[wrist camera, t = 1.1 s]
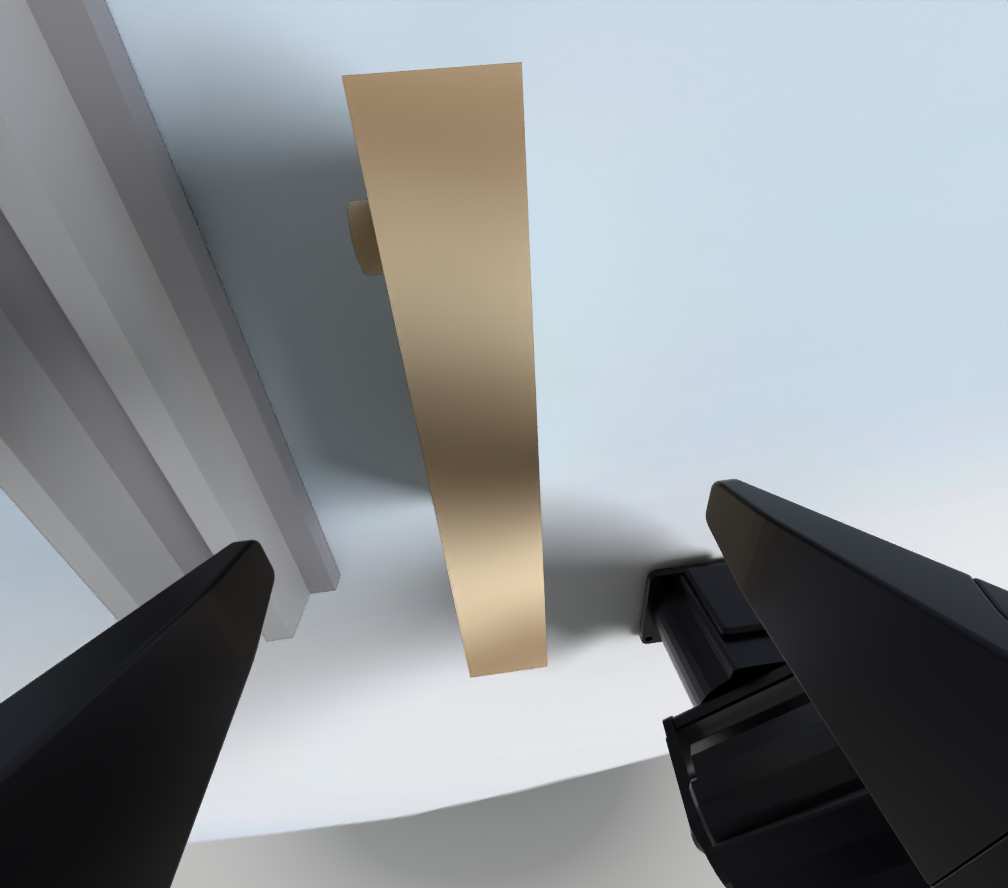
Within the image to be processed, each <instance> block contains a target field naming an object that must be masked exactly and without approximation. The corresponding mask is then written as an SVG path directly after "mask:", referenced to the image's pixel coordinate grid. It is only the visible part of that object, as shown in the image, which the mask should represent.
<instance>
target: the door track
mask: <svg viewBox="0 0 1008 888" xmlns="http://www.w3.org/2000/svg"><path fill="white" fill-rule="evenodd" d="M0 487H1V488H2V490H3V491H4V492H5V493H6V494H7V495H8V496H9V498H10V499H11V500H12V501H13V502H14V503H15V504H16V505H17V507H18V508H19V509H20V510H21V511H22V512H23V513H24V515H25V516H26V517H27V518H28V519H29V520H30V521H31V522H32V524H33V525H34V526H35V527H36V528H37V529H38V530H39V532H40V533H41V534H42V535H43V536H44V537H45V538H46V539H47V541H48V542H49V543H50V544H51V545H52V546H53V547H54V549H55V550H56V551H57V552H58V553H59V554H60V555H61V556H62V558H63V559H64V560H65V561H66V562H67V563H68V564H69V566H70V567H71V568H72V569H73V570H74V571H75V572H76V573H77V575H78V576H79V577H80V578H81V579H82V580H83V581H84V583H85V584H86V585H87V586H88V587H89V588H90V589H91V590H92V592H93V593H94V594H95V595H96V596H97V597H98V598H99V600H100V601H101V602H102V603H103V604H104V605H105V606H106V607H107V609H108V610H109V611H110V612H111V613H112V614H113V615H114V617H115V618H116V619H117V620H118V621H120V620H121V619H123V618H124V617H125V616H127V615H128V614H130V613H131V612H133V611H134V610H135V609H137V608H138V607H140V606H141V605H143V604H144V603H146V602H147V601H148V600H150V599H151V598H153V597H154V596H156V595H157V594H159V593H160V592H161V591H163V590H164V589H166V588H167V587H169V586H170V585H171V584H173V583H174V582H176V581H177V580H179V579H180V578H182V577H183V576H184V575H186V574H187V573H189V572H190V571H192V570H193V569H194V568H196V567H197V566H199V565H200V564H202V563H203V562H205V561H206V560H207V559H209V558H210V557H212V556H213V555H215V554H216V553H218V552H219V551H220V550H222V549H223V548H225V547H226V546H228V545H229V544H231V543H233V542H237V541H244V540H257V541H258V542H259V543H260V544H261V545H262V547H263V549H264V551H265V553H266V555H267V557H268V559H269V561H270V563H271V565H272V566H273V569H274V573H275V581H274V585H273V589H272V593H271V597H270V601H269V605H268V609H267V613H266V617H265V620H264V624H263V628H262V632H261V633H262V635H263V636H264V638H265V639H266V641H274V640H281V639H288V638H293V637H294V634H295V632H296V629H297V627H298V624H299V621H300V619H301V616H302V614H303V611H304V609H305V606H306V603H307V601H308V598H309V596H310V594H312V593H319V592H327V591H334V590H336V588H337V585H338V582H339V579H340V573H339V570H338V568H337V565H336V563H335V561H334V558H333V556H332V553H331V551H330V548H329V546H328V543H327V541H326V538H325V536H324V534H323V531H322V529H321V526H320V524H319V521H318V519H317V516H316V514H315V512H314V509H313V507H312V504H311V502H310V499H309V497H308V494H307V492H306V490H305V487H304V485H303V482H302V480H301V477H300V475H299V472H298V470H297V468H296V465H295V463H294V460H293V458H292V455H291V453H290V450H289V448H288V446H287V443H286V441H285V438H284V436H283V433H282V431H281V428H280V426H279V424H278V421H277V419H276V416H275V414H274V411H273V409H272V406H271V404H270V402H269V399H268V397H267V394H266V392H265V389H264V387H263V384H262V382H261V380H260V377H259V375H258V372H257V370H256V367H255V365H254V362H253V360H252V358H251V355H250V353H249V350H248V348H247V345H246V343H245V340H244V338H243V335H242V333H241V331H240V328H239V326H238V323H237V321H236V318H235V316H234V313H233V311H232V309H231V306H230V304H229V301H228V299H227V296H226V294H225V291H224V289H223V287H222V284H221V282H220V279H219V277H218V274H217V272H216V269H215V267H214V265H213V262H212V260H211V257H210V255H209V252H208V250H207V247H206V245H205V243H204V240H203V238H202V235H201V233H200V230H199V228H198V225H197V223H196V221H195V218H194V216H193V213H192V211H191V208H190V206H189V203H188V201H187V199H186V196H185V194H184V191H183V189H182V186H181V184H180V181H179V179H178V177H177V174H176V172H175V169H174V167H173V164H172V162H171V159H170V157H169V155H168V152H167V150H166V147H165V145H164V142H163V140H162V137H161V135H160V133H159V130H158V128H157V125H156V123H155V120H154V118H153V115H152V113H151V110H150V108H149V106H148V103H147V101H146V98H145V96H144V93H143V91H142V88H141V86H140V84H139V81H138V79H137V76H136V74H135V71H134V69H133V66H132V64H131V62H130V59H129V57H128V54H127V52H126V49H125V47H124V44H123V42H122V40H121V37H120V35H119V32H118V30H117V27H116V25H115V22H114V20H113V18H112V15H111V13H110V10H109V8H108V5H107V3H106V0H0Z"/></svg>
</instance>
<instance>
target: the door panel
mask: <svg viewBox="0 0 1008 888" xmlns="http://www.w3.org/2000/svg"><path fill="white" fill-rule="evenodd" d="M342 80H343V84H344V89H345V94H346V98H347V103H348V108H349V112H350V117H351V122H352V126H353V131H354V136H355V140H356V145H357V150H358V154H359V159H360V164H361V168H362V173H363V178H364V182H365V187H366V192H367V196H368V200H358V201H350V202H349V204H348V221H349V228H350V233H351V238H352V243H353V246H354V250H355V253H356V257H357V259H358V262H359V265H360V267H361V269H362V271H363V272H364V274H365V275H366V276H372V275H382V274H384V276H385V281H386V285H387V290H388V295H389V299H390V304H391V309H392V313H393V318H394V323H395V327H396V332H397V337H398V341H399V346H400V351H401V355H402V360H403V365H404V369H405V374H406V379H407V383H408V388H409V393H410V397H411V402H412V407H413V411H414V416H415V421H416V425H417V430H418V435H419V439H420V444H421V449H422V453H423V458H424V463H425V467H426V472H427V477H428V481H429V486H430V491H431V496H432V500H433V505H434V510H435V514H436V519H437V524H438V528H439V533H440V538H441V542H442V547H443V552H444V556H445V561H446V566H447V570H448V575H449V580H450V584H451V589H452V594H453V598H454V603H455V608H456V612H457V617H458V622H459V626H460V631H461V636H462V640H463V645H464V650H465V654H466V659H467V664H468V668H469V673H470V678H471V677H478V676H485V675H492V674H499V673H506V672H513V671H520V670H526V669H533V668H540V667H547V644H546V620H545V597H544V573H543V550H542V526H541V503H540V480H539V456H538V433H537V409H536V386H535V363H534V339H533V316H532V292H531V269H530V245H529V222H528V199H527V175H526V152H525V128H524V105H523V81H522V62H518V63H504V64H491V65H478V66H465V67H451V68H438V69H425V70H412V71H398V72H385V73H372V74H358V75H345V76H342Z"/></svg>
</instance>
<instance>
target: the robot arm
mask: <svg viewBox="0 0 1008 888" xmlns="http://www.w3.org/2000/svg"><path fill="white" fill-rule="evenodd" d="M706 521H707V524H708V526H709V528H710V530H711V532H712V534H713V536H714V538H715V540H716V542H717V544H718V546H719V548H720V550H721V552H722V554H723V556H724V558H725V560H726V561H721V562H714V563H706V564H699V565H692V566H684V567H677V568H670V569H662V570H656V571H653V572H651V573H650V574H649V575H648V577H647V584H646V590H645V597H644V604H643V611H642V618H641V625H640V632H639V636H640V639H641V641H642V642H643V643H645V644H649V643H656V642H663V644H664V646H665V648H666V650H667V652H668V654H669V656H670V659H671V661H672V663H673V665H674V667H675V669H676V671H677V673H678V675H679V677H680V680H681V682H682V684H683V686H684V688H685V690H686V692H687V694H688V696H689V698H690V700H691V703H692V705H693V707H694V708H692V709H690V710H687V711H685V712H683V713H681V714H679V715H677V716H675V717H673V716H670V717H668V718H666V719H664V720H663V725H664V729H665V733H666V736H667V738H666V742H667V746H668V749H669V753H670V756H671V760H672V764H673V767H674V771H675V774H676V778H677V781H678V785H679V789H680V793H681V796H682V800H683V803H684V807H685V811H686V814H687V818H688V822H689V825H690V830H691V836H692V839H693V841H694V843H695V845H696V847H697V848H698V849H699V850H700V851H702V852H703V853H704V854H706V857H707V859H708V860H709V862H710V864H711V866H712V867H713V869H714V871H715V873H716V874H717V876H718V877H719V879H720V880H721V881H722V883H723V884H724V886H725V887H726V888H1008V591H1007V590H1004V589H1002V588H1000V587H997V586H995V585H992V584H990V583H987V582H985V581H983V580H980V579H977V578H974V579H972V577H971V576H970V575H968V574H965V573H963V572H961V571H958V570H956V569H953V568H951V567H948V566H946V565H944V564H941V563H939V562H936V561H934V560H931V559H929V558H927V557H924V556H922V555H919V554H917V553H914V552H912V551H910V550H907V549H905V548H902V547H900V546H897V545H895V544H893V543H890V542H888V541H885V540H883V539H880V538H878V537H876V536H873V535H871V534H868V533H866V532H863V531H861V530H859V529H856V528H854V527H851V526H849V525H846V524H844V523H842V522H839V521H837V520H834V519H832V518H829V517H827V516H825V515H822V514H820V513H817V512H815V511H812V510H810V509H808V508H805V507H803V506H800V505H798V504H795V503H793V502H791V501H788V500H786V499H783V498H781V497H779V496H776V495H774V494H771V493H769V492H766V491H764V490H762V489H759V488H757V487H754V486H752V485H749V484H747V483H745V482H742V481H740V480H737V479H729V480H721V481H717V482H715V483H714V484H713V485H712V487H711V491H710V496H709V501H708V505H707V510H706ZM274 581H275V573H274V569H273V566H272V565H271V563H270V561H269V559H268V557H267V555H266V553H265V551H264V549H263V547H262V545H261V544H260V543H259V542H258V541H257V540H244V541H237V542H233V543H231V544H229V545H228V546H226V547H225V548H223V549H222V550H220V551H219V552H218V553H216V554H215V555H213V556H212V557H210V558H209V559H207V560H206V561H205V562H203V563H202V564H200V565H199V566H197V567H196V568H194V569H193V570H192V571H190V572H189V573H187V574H186V575H184V576H183V577H182V578H180V579H179V580H177V581H176V582H174V583H173V584H171V585H170V586H169V587H167V588H166V589H164V590H163V591H161V592H160V593H159V594H157V595H156V596H154V597H153V598H151V599H150V600H148V601H147V602H146V603H144V604H143V605H141V606H140V607H138V608H137V609H135V610H134V611H133V612H131V613H130V614H128V615H127V616H125V617H124V618H123V619H121V620H120V621H118V622H117V623H115V624H114V625H112V626H111V627H110V628H108V629H107V630H105V631H104V632H102V633H101V634H100V635H98V636H97V637H95V638H94V639H92V640H91V641H89V642H88V643H87V644H85V645H84V646H82V647H81V648H79V649H78V650H76V651H75V652H74V653H72V654H71V655H69V656H68V657H66V658H65V659H64V660H62V661H61V662H59V663H58V664H56V665H55V666H53V667H52V668H51V669H49V670H48V671H46V672H45V673H43V674H42V675H41V676H39V677H38V678H36V679H35V680H33V681H32V682H30V683H29V684H28V685H26V686H25V687H23V688H22V689H20V690H19V691H17V692H16V693H15V694H13V695H12V696H10V697H9V698H7V699H6V700H5V701H3V702H2V703H0V888H170V887H171V884H172V881H173V878H174V876H175V873H176V870H177V868H178V865H179V862H180V860H181V857H182V854H183V852H184V849H185V846H186V843H187V841H188V838H189V835H190V833H191V830H192V827H193V824H194V822H195V819H196V816H197V814H198V811H199V808H200V805H201V803H202V800H203V797H204V795H205V792H206V789H207V786H208V784H209V781H210V778H211V776H212V773H213V770H214V767H215V765H216V762H217V759H218V757H219V754H220V751H221V748H222V746H223V743H224V740H225V738H226V735H227V732H228V730H229V727H230V724H231V721H232V719H233V716H234V713H235V711H236V708H237V705H238V702H239V700H240V697H241V694H242V692H243V689H244V686H245V683H246V681H247V678H248V675H249V673H250V670H251V667H252V664H253V661H254V658H255V654H256V651H257V648H258V644H259V640H260V636H261V632H262V628H263V624H264V620H265V617H266V613H267V609H268V605H269V601H270V597H271V593H272V589H273V585H274Z"/></svg>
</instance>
